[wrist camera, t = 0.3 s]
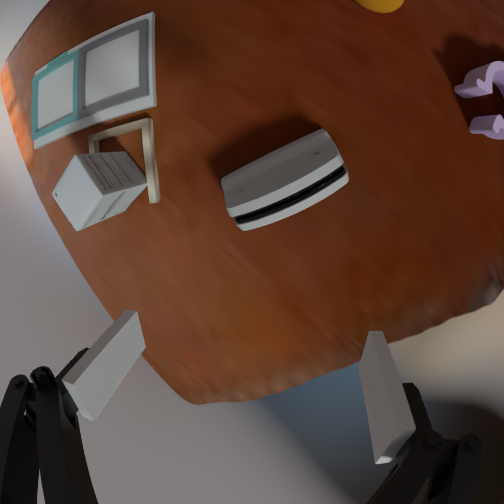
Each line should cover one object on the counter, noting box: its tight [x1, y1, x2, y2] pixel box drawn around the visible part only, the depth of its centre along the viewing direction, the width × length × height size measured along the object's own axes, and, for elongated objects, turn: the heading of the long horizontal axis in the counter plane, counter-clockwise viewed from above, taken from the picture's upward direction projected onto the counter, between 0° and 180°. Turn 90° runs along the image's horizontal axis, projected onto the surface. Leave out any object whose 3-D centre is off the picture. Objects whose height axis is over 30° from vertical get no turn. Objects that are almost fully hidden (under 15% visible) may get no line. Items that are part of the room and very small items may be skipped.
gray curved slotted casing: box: [221, 128, 349, 231], centre depth 34 cm, size 17×5×10 cm, turn 118°
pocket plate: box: [31, 12, 157, 149], centre depth 35 cm, size 18×30×2 cm, turn 95°
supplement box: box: [52, 151, 147, 231], centre depth 35 cm, size 7×7×13 cm
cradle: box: [88, 118, 161, 203], centre depth 39 cm, size 13×12×2 cm
